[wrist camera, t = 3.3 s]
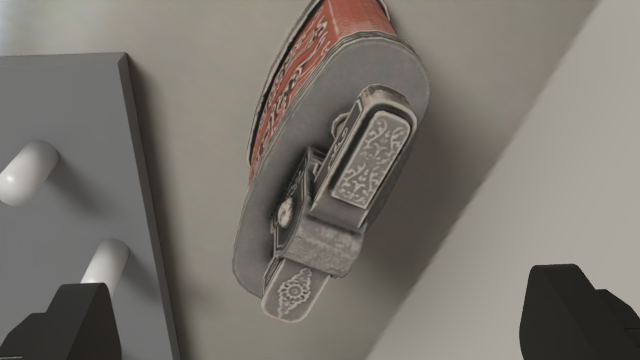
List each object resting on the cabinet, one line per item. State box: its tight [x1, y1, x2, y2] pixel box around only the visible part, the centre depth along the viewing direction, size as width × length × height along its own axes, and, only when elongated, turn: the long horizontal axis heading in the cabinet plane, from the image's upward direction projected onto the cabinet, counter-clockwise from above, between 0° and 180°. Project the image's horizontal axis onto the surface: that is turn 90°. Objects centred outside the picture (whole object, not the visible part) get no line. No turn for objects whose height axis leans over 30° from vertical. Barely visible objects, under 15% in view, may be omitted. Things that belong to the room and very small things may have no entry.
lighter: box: [232, 0, 431, 323], centre depth 18 cm, size 8×3×10 cm, turn 155°
